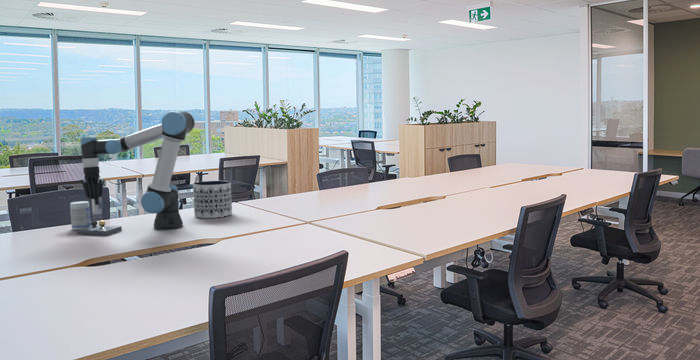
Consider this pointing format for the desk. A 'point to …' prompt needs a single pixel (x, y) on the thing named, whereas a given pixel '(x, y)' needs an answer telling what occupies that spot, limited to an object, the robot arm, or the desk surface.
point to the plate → (96, 230)
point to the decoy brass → (101, 223)
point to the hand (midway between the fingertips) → (95, 210)
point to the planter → (212, 199)
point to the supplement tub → (80, 214)
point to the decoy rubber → (94, 223)
